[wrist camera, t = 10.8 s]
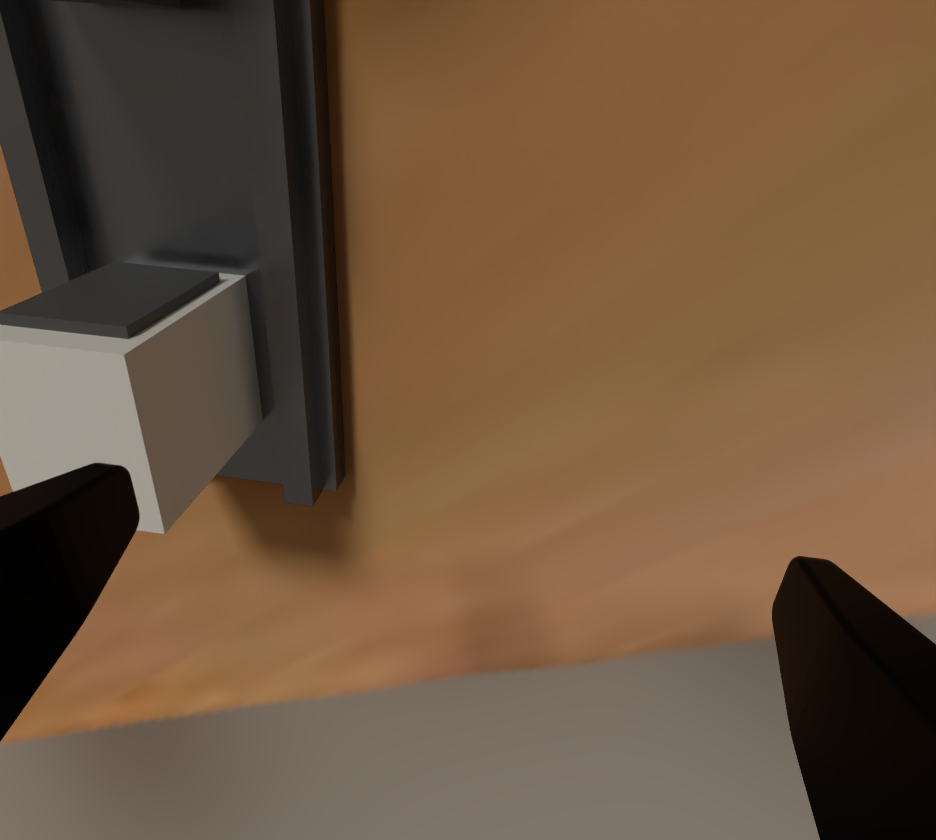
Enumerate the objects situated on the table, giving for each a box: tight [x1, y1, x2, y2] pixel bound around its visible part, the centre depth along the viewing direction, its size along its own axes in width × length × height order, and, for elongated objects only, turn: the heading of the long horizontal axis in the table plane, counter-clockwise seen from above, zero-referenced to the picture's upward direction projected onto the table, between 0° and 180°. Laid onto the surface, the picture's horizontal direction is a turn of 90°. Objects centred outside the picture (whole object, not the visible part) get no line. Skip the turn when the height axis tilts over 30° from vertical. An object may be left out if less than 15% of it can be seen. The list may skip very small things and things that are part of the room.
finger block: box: [0, 262, 263, 534], centre depth 18 cm, size 5×4×6 cm
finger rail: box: [0, 0, 345, 506], centre depth 18 cm, size 9×22×2 cm, turn 177°
